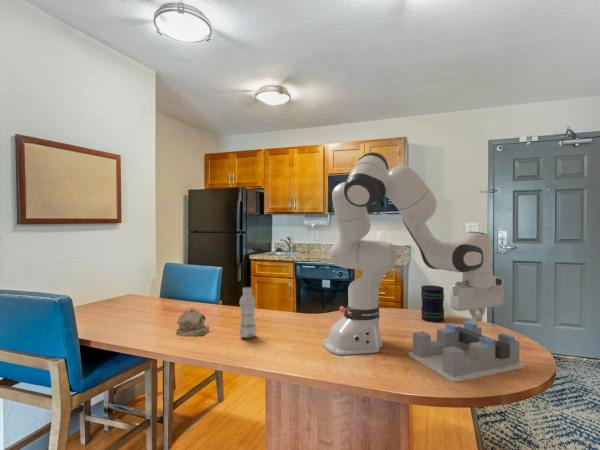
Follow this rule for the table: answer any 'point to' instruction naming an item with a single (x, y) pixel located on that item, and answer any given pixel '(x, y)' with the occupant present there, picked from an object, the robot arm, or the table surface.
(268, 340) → the table surface
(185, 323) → the ceramic model
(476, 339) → the dark square rod
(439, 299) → the black ribbed barrel
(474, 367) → the grey slotted fixture rack
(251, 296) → the plastic bottle
